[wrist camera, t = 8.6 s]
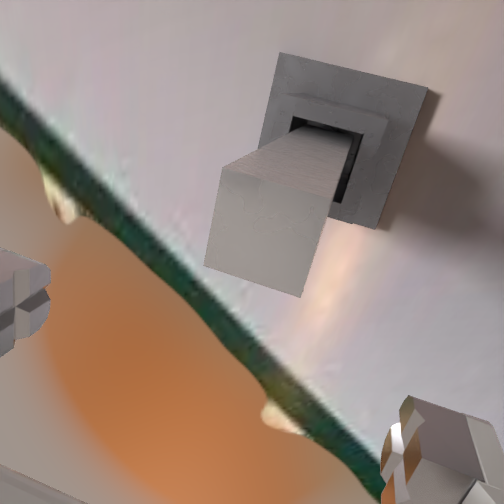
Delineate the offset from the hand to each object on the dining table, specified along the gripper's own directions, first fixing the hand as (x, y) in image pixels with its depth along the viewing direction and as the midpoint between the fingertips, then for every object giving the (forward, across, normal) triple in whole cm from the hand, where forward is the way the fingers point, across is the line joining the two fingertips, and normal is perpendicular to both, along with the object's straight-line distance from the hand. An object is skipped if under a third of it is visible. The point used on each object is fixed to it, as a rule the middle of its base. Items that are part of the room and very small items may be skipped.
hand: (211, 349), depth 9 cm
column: (+29, -1, 0) cm, 29 cm away
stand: (+37, -1, 0) cm, 37 cm away
